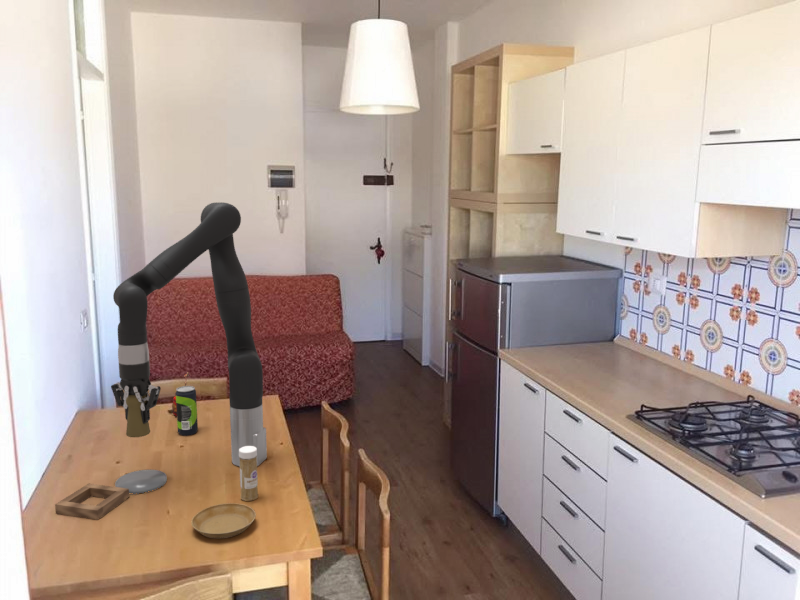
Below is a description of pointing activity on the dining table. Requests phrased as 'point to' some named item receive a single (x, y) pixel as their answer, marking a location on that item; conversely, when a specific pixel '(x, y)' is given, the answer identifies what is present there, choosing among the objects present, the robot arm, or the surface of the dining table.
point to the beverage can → (186, 410)
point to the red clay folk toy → (175, 400)
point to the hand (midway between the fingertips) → (137, 421)
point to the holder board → (75, 508)
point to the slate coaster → (142, 481)
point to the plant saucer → (223, 520)
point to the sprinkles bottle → (248, 473)
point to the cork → (135, 418)
